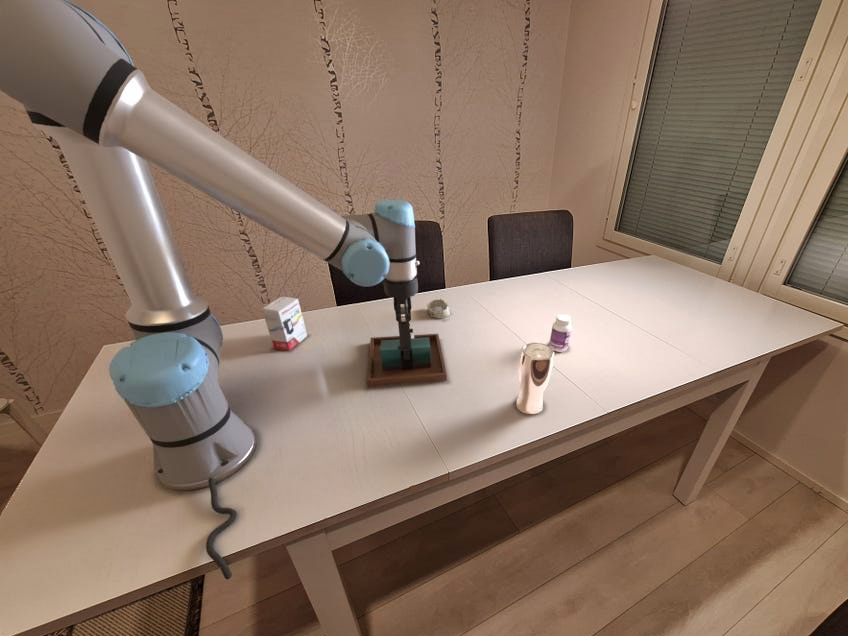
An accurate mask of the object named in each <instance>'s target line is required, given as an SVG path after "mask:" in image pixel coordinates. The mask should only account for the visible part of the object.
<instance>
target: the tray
mask: <svg viewBox="0 0 848 636" xmlns="http://www.w3.org/2000/svg"><path fill="white" fill-rule="evenodd" d="M413 335H414V338H428V337H429V342H430V353H431V367H423V368H413V369H403V370H402V369H397V370H384V371H383V368H382V360H381V352H380V346H381V340H396V339H400V337H399V335H393V336H376V337H375V336H374V337H370V339H369V340H370V341H369V351H368V352H369V353H368V366H367V376H366V383H367V387H368V388H374V387H385V386H397V385H411V384H421V383H423V384H424V383H433V382H434V383H435V382H445V381H446V382H447V381H448V380H447V377H448V375H447V374H448V373H447V370H446V369H447V368H446V365H445V364H446V363H445V359H444V355H443V349H442V345H441V340H440V336H439V333H429V334H428V333H427V334H413Z"/></svg>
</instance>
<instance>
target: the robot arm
mask: <svg viewBox="0 0 848 636" xmlns="http://www.w3.org/2000/svg"><path fill="white" fill-rule="evenodd" d="M0 91H1V92H2V93H4V94H5V95H7V96H8V97H9V98H11V99H13V100H15V101H17V102H18V103H20V104H22V106H23V107H24V109H25V111H26V114H27V116H28V118H29V120H30V122H31V123H32V125H33V127H35V128H36V129H38V130H40V131H42V133H45V134H46V135H48V136H49V137H51V138H52V139H53V140H54V141H56V143H57V144H58V147H59V148H60V150H61V152H62V155H63V157H64V159H65V161H66V163H67V166H68V167H69V170H70V172H71V174H72V176H73V179H74V181H75V184H76V185H77V187H78V189H79V191H80V195H81V197H82V198H83V200H84V203H85V205H86V207H87V209H88V212H89V213H90V215H91V218H92V220H93V222H94V225H95V226H96V229H97V230H98V233H99V236H100V237H101V240H102V242H103V244H104V247H105V249H106V250H107V253H108V255H109V257H110V259H111V261H112V263H113V265H114V268H115V270H116V272H117V274H118V276H119V278H120V281H121V283H122V285H123V287H124V289H125V291H126V294H127V296H128V298H129V300H130V302H131V306H130V307H129V308H128V309H127V311H126V312H125V314H124V316H125V319H126V321H127V323H128V325H129V327H130V330H131V331H132V333H133V336H134V338H135V340H133V341H132V342H130V346H124V347H122V348H121V349H120V350H119V351H117V353H115V355H114V356H113V357H112V359H111V361H110V363H109V367H108V368H109V369H108V372H109V376H110V379H111V380H112V383H113V386H114V388H115V391H116V393H117V394H118V395H119V396H120V397H121V399H122V400H123V401H124V403H125V404H126V405H127V407H128V409H129V410H130V411H131V413H132V414H133V416H134V417H135V419H136V420H137V422H138V424H139V425H140V426H141V428H142V429H143V431H144V432H145V434H146V436H148V438H149V440H150V441H151V443H152V453H153V467H154V471H155V474H156V477H157V478H158V479H159V481H160V482H161V483H162V484H163V486H165V487H167V488H169V489H172V490H176V491H194V490H200V489H203V488H207V487H209V491H210V505H211V508H212V510H213V511H214V512H215V513H218V514H224V515H229V517H228V518H227V519H226V520H225V521H224V522H223V523H221V524H220V525H219V526H218V527H216V528H215V529H214V530H213V531H211V533H209V535H208V536H207V539H206V543H205V550H206V554H207V556H209V558H210V559H211V560H212V561H213V562H214V563H215V564H216V565H217V566H218V567H219V569H220V571H221V573H222V575H223V577H224V579H225V580H230V579H231V578H232V576H233V575H232V574H233V573H232V571H231V569H230V567H229V565H228V563H227V562H226V560H225V559H224V558H223V557H222V556H221V555H220V554H219V553H218V552H217V550H215V548H214V541H215V538H216V536H218V535H219V534H220V533H221V532H222V531H224V530H226V528H228V527H230V525H232V524H233V522H234V521H235V520H236V518H237V511H236V510H235V509H234V508H230V507H221V506H220V505H219V503H218V490H217V485H216V484H218V483H220V482H222V481H225V480H226V479H228V478H229V477H231V476H233V475H234V474H235V473H237V472H238V471H240V470H241V469H242V468H243V467H244V466H245V465H246V464H247V463H248V462H249V460H250V459H251V458H252V457H253V455H254V453H255V452H256V451H255V450H256V448H257V447H256V446H257V439H256V436H255V434H254V432H253V430H252V428H251V427H250V426H249V425H248V424H247V423H245V422H244V421H243V420H242V419H241V418H240V417H239V416H238V415H236V414H235V413H234V412H233V411H232V410H231V407H230V406H229V403H228V401H227V398H226V396H225V394H224V392H223V390H222V388H221V385H220V382H219V372H220V371H219V369H220V359H221V350H222V348H223V340H224V337H223V336H224V335H223V330H222V327H221V325H220V323H219V320H217V318H216V317H215V316H214V315H213V313H212V312H211V309H210V307H209V304H208V301H207V300H206V299H204V298H203V297H200V296H199V295H196V294H195V293H194V290H193V288H192V285H191V282H190V279H189V277H188V274H187V271H186V268H185V265H184V262H183V259H182V257H181V254H180V251H179V248H178V245H177V243H176V239H175V237H174V234H173V231H172V228H171V226H170V223H169V220H168V217H167V215H166V212H165V209H164V205H163V203H162V200H161V198H160V195H159V192H158V189H157V186H156V183H155V181H154V178H153V175H152V173H151V170H150V167H149V164H151V165H153V166H155V167H156V168H159V169H161V170H162V171H163V172H166V173H168V174H169V175H171V176H173V177H175V178H176V179H178V180H180V181H182V182H184V183H185V184H187V185H189V186H191V187H192V188H194V189H196V190H198V191H199V192H200V193H204V194H205V195H207V196H208V197H210V198H211V199H213V200H216V201H218V202H219V203H221V204H223V205H225V206H227V207H228V208H230V209H232V210H234V211H236V212H237V213H239V214H240V215H242V216H243V217H246V218H248V219H250V220H251V221H253V222H255V223H257V224H258V225H261V226H262V227H264V228H265V229H267V230H270V231H271V232H273V233H275V234H277V235H278V236H280V237H282V238H283V239H286V240H288V241H289V242H291V243H292V244H294V245H296V246H298V247H300V248H301V249H303V250H304V251H307V252H309V253H310V254H312V255H314V256H316V257H318V258H319V259H321V260H323V261H324V262H326V263H327V264H329V265H331V266H332V267H335V268H336V269H337V270H340V271H342V273H343V274H344V276H346V278H347V279H349V280H350V281H351V283H354V284H355V285H357V286H359V287H366V288H367V287H373V286H376V285H378V284H380V283H381V282H382V283H383V291H384V294H385V295H386V296H387V297H390V298H393V310H394V312H395V321H396V322H397V324H398V336H399V337H400V346H398V347H397V348H398V349H400V350H401V361H402V370H403V369H413V358H412V345H411V335H412V334H413V333H414V329H413V328H410V327H411V323H410V321H412V312H411V311H412V298H411V297H414V296H415V295H417V293H418V292H419V282H418V280H419V279H418V276H417V275H418V268H417V266H419V265H420V261H419V260H417V252H416V224H415V216H414V215H415V213H414V210H413V205H412V204H411V203H410V202H408V201H406V200H403V199H384V200H379V201H377V202H376V203H375V204H374V212H371V213H366V214H365V213H362V214H348V215H346V214H345V215H340V214H338V213H337V212H335V211H333V210H332V209H331V208H329V207H328V206H326V205H325V204H323V203H322V202H320V201H319V200H317V199H316V198H314V197H313V196H311V195H310V194H308V193H307V192H305V191H304V190H302V189H301V188H300V187H298V186H296V185H295V184H294V183H292V182H290V181H289V180H288V179H286V178H285V177H283V176H281V175H280V174H279V173H277V172H276V171H274V170H273V169H271V168H269V167H268V166H266V165H265V164H264V163H262V162H260V161H259V160H258V159H256V158H254V157H253V156H252V155H250V154H249V153H247V152H245V150H243V149H242V148H240V147H238V146H237V145H236V144H234V143H233V142H231V141H229V140H228V139H227V138H225V137H224V136H222V135H220V134H219V133H218V132H216V131H215V130H213V129H212V128H210V127H209V126H208V125H205V124H204V123H202V122H201V121H200V120H198V119H197V118H195V117H194V116H193V115H191V114H190V113H188V112H186V111H185V110H183V109H182V108H180V107H179V106H177V105H176V104H174V103H173V102H171V101H170V100H169V99H167V98H165V97H164V96H163V95H161V94H160V93H158V92H156V91H155V90H153V88H152V87H150V85H149V83H148V81H147V79H146V77H145V74H144V72H143V71H142V70H140V69H139V68H137V67H136V66H135V65H134V63H133V60H132V58H131V56H130V55H129V52H127V50H126V49H125V47H124V46H123V44H122V43H121V42H120V40H119V39H118V38H117V37H116V35H115V34H114V33H113V32H112V31H111V30H109V28H108V27H107V26H106V25H105V24H103V23H102V22H101V21H100V20H99V19H97V18H96V16H93V15H92V14H91V13H90V12H88V10H87V11H86V10H85V9H84V8H82V7H80V6H78V5H76V4H75V3H73V2H71V1H69V0H0ZM148 163H149V164H148ZM225 565H227V566H225ZM220 567H221V568H220Z"/></svg>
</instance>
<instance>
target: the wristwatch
mask: <svg viewBox="0 0 848 636" xmlns="http://www.w3.org/2000/svg"><path fill="white" fill-rule="evenodd" d="M426 307H427V310H428V313H429V315H430V316H431V317H432V318H437V319H444V318H447V317H448V316H450V314H451V311H450V308H449V304H448V302H447V300H445V299H443V298H439V299H433V300H431V301H430V302H428V304H427V305H426ZM436 308H441V309H442V310H441V311H435V310H434V309H436Z"/></svg>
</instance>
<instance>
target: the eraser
mask: <svg viewBox="0 0 848 636" xmlns="http://www.w3.org/2000/svg"><path fill="white" fill-rule="evenodd" d="M411 345H412V358H413V368H423V367H431V353H430V342H429V337H428V338H412V339H411ZM398 346H400V339H396V340H381V346H380V352H381V360H382V368H383V371H384V370H397V369H402V361H401V350H400V349H398V348H397V347H398Z"/></svg>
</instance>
